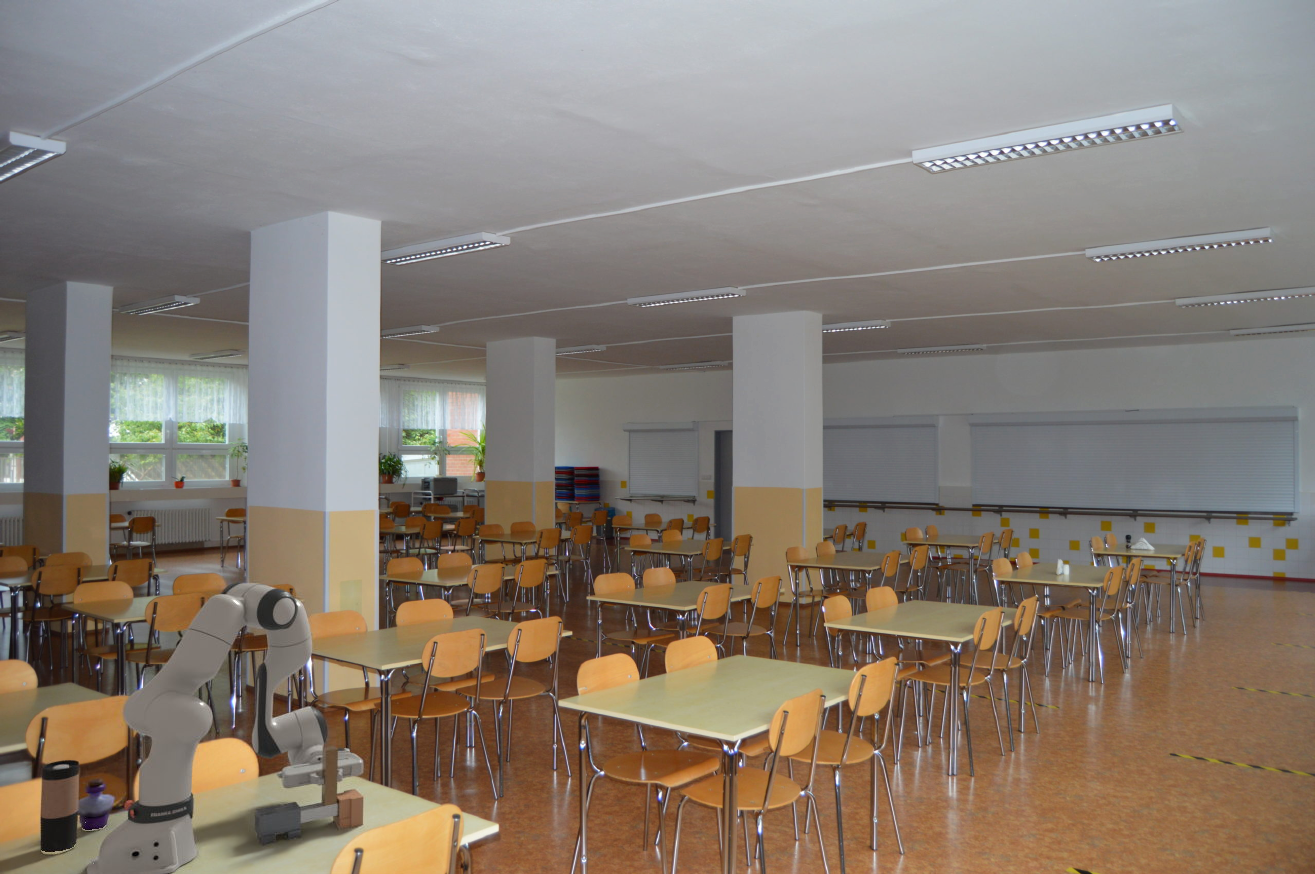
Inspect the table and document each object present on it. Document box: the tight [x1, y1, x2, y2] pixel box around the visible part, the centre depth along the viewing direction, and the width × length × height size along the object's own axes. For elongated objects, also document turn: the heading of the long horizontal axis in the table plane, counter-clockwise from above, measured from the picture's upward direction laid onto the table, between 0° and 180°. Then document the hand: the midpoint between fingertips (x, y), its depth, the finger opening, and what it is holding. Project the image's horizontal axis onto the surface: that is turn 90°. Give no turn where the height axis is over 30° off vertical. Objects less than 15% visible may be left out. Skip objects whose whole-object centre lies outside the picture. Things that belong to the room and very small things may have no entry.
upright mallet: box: [300, 745, 339, 824], centre depth 234 cm, size 14×3×17 cm, turn 125°
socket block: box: [332, 788, 364, 830], centre depth 238 cm, size 6×7×7 cm
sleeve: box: [254, 801, 302, 847], centre depth 228 cm, size 10×6×7 cm, turn 125°
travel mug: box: [39, 759, 80, 852], centre depth 221 cm, size 8×8×20 cm
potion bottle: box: [78, 778, 116, 830], centre depth 233 cm, size 9×9×12 cm
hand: (330, 780), depth 235 cm, fingers closed on upright mallet, 3 cm apart
